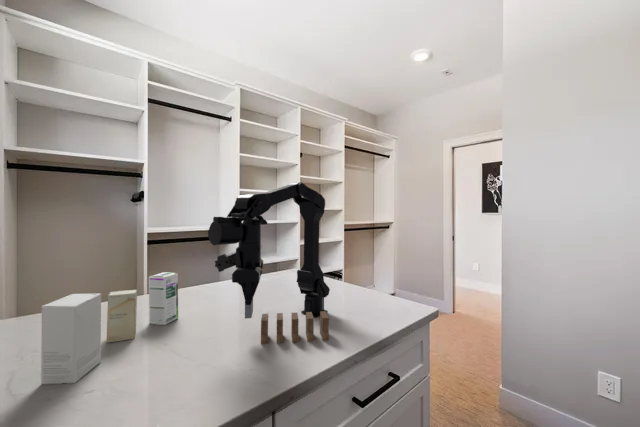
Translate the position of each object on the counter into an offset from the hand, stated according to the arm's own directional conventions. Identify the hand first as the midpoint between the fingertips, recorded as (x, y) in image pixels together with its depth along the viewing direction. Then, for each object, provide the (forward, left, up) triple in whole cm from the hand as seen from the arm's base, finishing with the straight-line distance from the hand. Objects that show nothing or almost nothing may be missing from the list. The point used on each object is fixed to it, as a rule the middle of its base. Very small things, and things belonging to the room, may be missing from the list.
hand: (249, 301), depth 76 cm
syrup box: (+9, -31, -10) cm, 34 cm away
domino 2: (-6, +5, -10) cm, 13 cm away
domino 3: (-9, +8, -10) cm, 16 cm away
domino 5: (-15, +13, -10) cm, 22 cm away
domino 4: (-12, +11, -10) cm, 19 cm away
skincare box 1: (+33, -15, -10) cm, 38 cm away
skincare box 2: (+21, -27, -10) cm, 36 cm away
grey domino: (0, 0, -4) cm, 4 cm away
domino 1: (-3, +3, -10) cm, 11 cm away
